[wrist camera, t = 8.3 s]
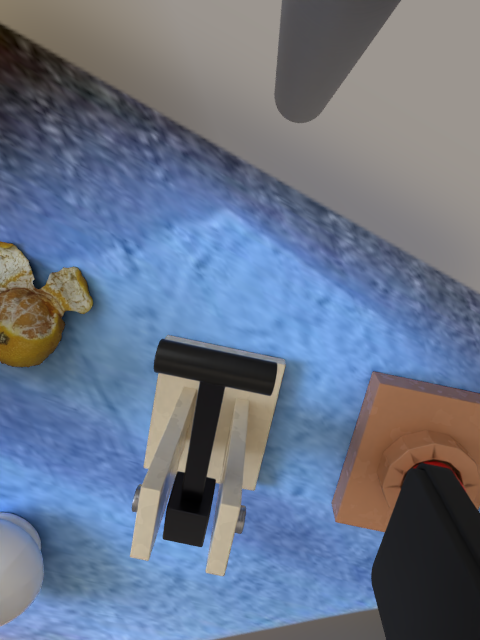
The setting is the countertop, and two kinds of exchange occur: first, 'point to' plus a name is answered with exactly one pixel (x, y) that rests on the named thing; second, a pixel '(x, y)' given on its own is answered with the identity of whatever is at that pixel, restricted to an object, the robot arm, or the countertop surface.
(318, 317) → the countertop surface
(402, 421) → the control block
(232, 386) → the black t-handle lever
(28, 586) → the flower vase
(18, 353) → the fruit
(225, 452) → the lever bracket
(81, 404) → the countertop surface
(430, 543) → the robot arm
